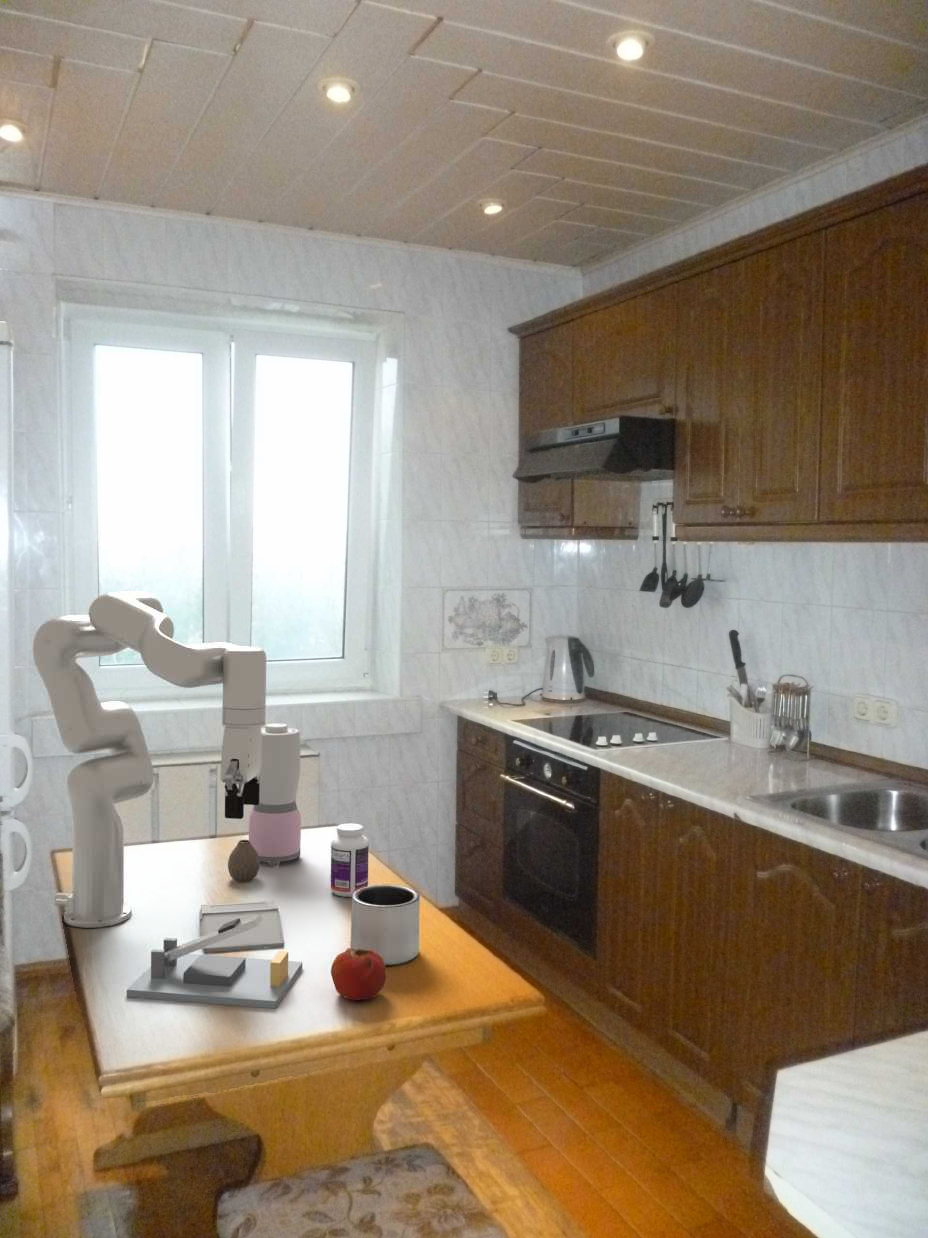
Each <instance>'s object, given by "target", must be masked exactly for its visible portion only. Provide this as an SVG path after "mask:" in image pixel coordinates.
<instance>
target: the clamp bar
mask: <svg viewBox="0 0 928 1238" xmlns="http://www.w3.org/2000/svg"><path fill="white" fill-rule="evenodd" d="M262 920H263V919H262V917H261V915H260V914H258V915H255V916H253V917H250V918H248V919H245V920H243V921H240V918H238V919H236V920H233V921H231V922H228V923H226V924H224V925H223V926H222V927H221V928H220V929H219V930H218V931H215V932H213V933H210V934H208V935H205V936H203V937H201V936H200V937H198V938H195V939H193V940H190V941H187V942H186V943H183V944H181V945H177V947H175V948H172V949H170V950H166V951H165V963H166V962H169V961H171V960H174V959H176V958H179V957H182V956H184V955H187V954H193V953H194V952H197V951H199V950H202V948H204V947H207V946H209V945H212V944H214V943H217V942H219V941H222V940H224V939H227V938H229V937H232V936H234V935H237V934H239V933H242V932H245V931H247V930H250V929H252V928H255V927H257V926H258V925H259V924H260V923H261V922H262Z"/></svg>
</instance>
